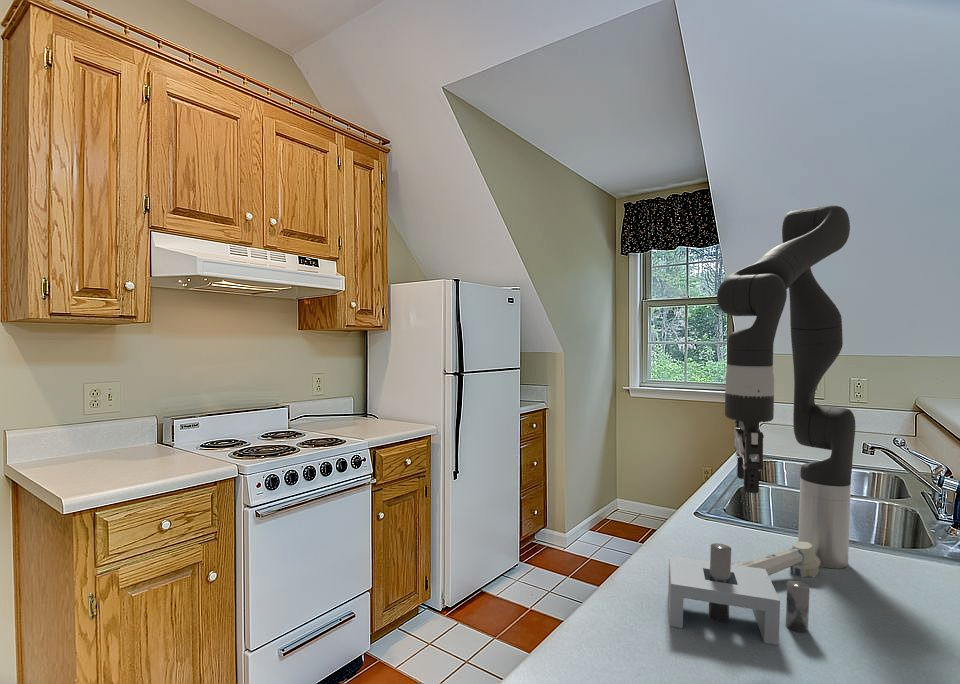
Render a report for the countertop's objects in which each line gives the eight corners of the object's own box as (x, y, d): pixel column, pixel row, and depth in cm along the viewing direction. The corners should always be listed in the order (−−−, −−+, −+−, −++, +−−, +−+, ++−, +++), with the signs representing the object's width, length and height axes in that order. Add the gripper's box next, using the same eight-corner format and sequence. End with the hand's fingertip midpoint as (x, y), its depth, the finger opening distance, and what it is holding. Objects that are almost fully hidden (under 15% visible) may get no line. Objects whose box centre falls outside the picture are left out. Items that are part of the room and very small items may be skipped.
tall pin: (707, 610, 95) (709, 542, 95) (727, 614, 94) (730, 544, 94) (709, 619, 92) (711, 549, 92) (730, 623, 91) (732, 551, 91)
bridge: (668, 593, 101) (669, 555, 101) (764, 608, 96) (765, 569, 96) (669, 625, 90) (670, 583, 90) (778, 645, 85) (780, 600, 85)
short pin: (783, 620, 92) (785, 579, 92) (805, 624, 91) (807, 582, 91) (787, 630, 89) (789, 587, 89) (810, 634, 88) (811, 591, 88)
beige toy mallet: (710, 564, 106) (801, 531, 115) (713, 598, 106) (803, 562, 115) (732, 576, 101) (825, 540, 110) (735, 611, 101) (827, 572, 111)
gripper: (782, 398, 86) (780, 500, 86) (766, 387, 99) (764, 476, 100) (730, 395, 88) (728, 495, 89) (721, 386, 102) (719, 472, 102)
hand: (747, 485), depth 94 cm, fingers open, 8 cm apart
